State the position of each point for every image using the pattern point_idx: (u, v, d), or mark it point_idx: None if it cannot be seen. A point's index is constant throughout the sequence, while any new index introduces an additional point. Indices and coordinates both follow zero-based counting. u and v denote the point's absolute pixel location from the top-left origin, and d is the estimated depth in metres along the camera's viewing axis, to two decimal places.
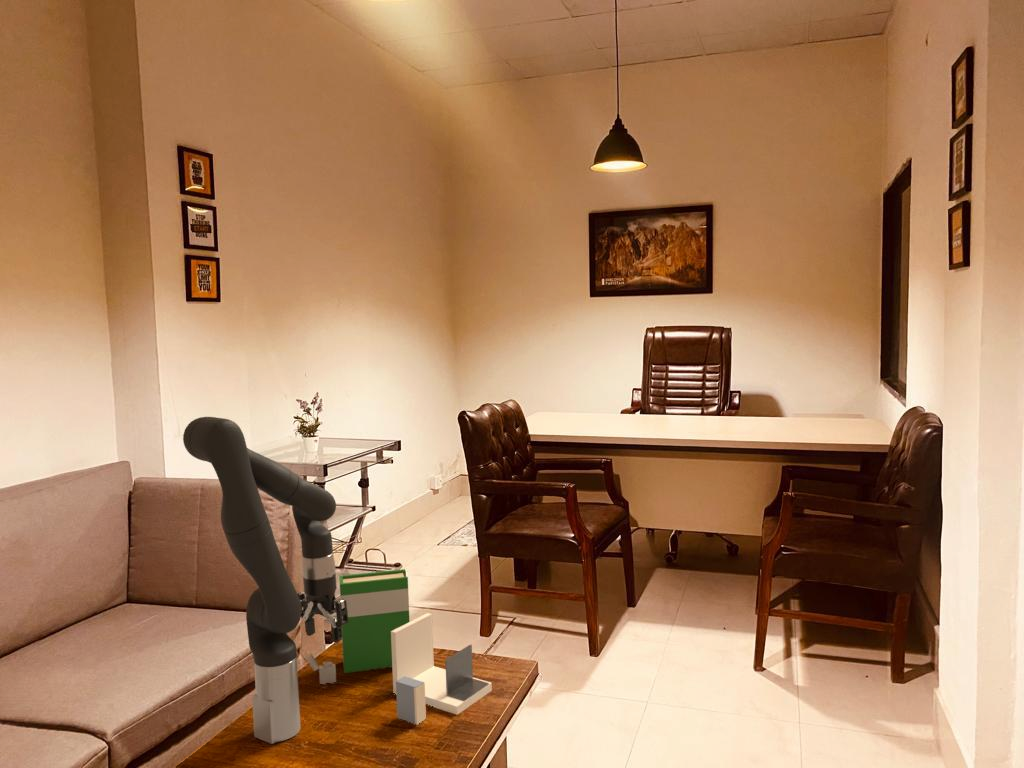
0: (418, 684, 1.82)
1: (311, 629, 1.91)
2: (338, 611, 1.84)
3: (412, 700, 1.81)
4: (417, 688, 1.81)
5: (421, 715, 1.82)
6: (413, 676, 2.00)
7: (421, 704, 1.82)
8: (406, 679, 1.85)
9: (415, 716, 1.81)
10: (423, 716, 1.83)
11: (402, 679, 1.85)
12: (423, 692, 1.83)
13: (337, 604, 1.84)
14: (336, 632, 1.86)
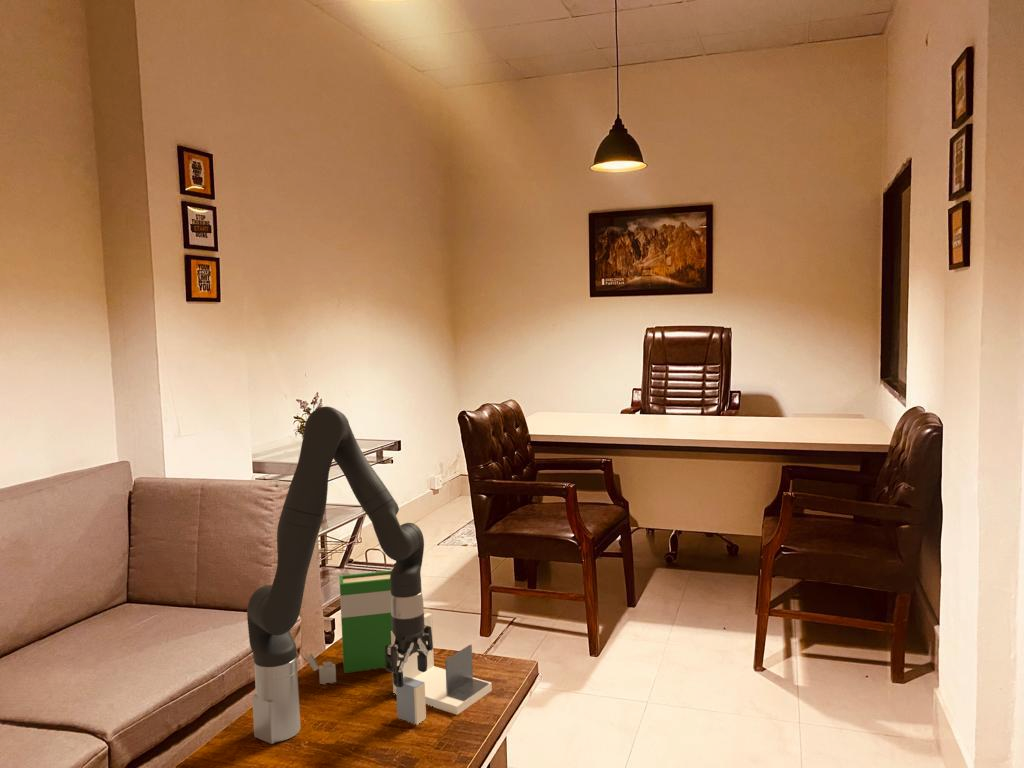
0: (418, 684, 1.82)
1: None
2: (430, 635, 1.88)
3: (412, 699, 1.81)
4: (417, 688, 1.81)
5: (421, 715, 1.82)
6: (413, 676, 2.00)
7: (421, 704, 1.82)
8: (406, 679, 1.85)
9: (415, 716, 1.81)
10: (423, 716, 1.83)
11: None
12: (423, 692, 1.83)
13: (430, 628, 1.88)
14: (425, 660, 1.88)
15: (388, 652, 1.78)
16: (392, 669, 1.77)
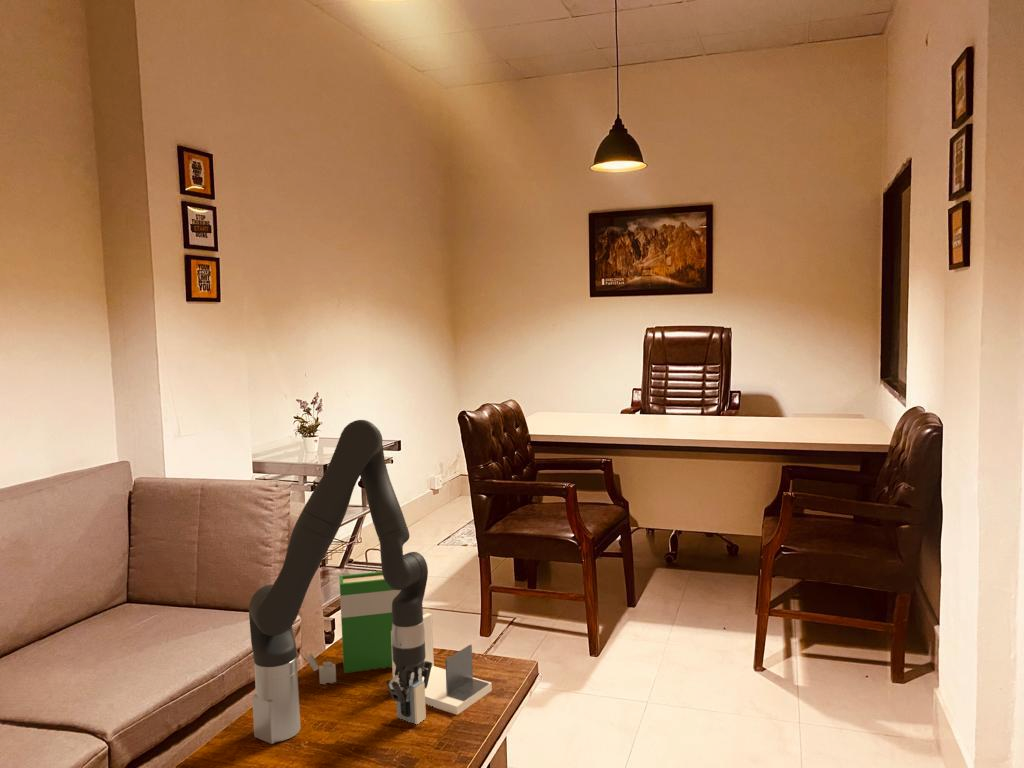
0: (418, 684, 1.82)
1: None
2: (429, 671, 1.87)
3: (411, 699, 1.81)
4: (417, 688, 1.81)
5: (421, 715, 1.82)
6: None
7: (421, 704, 1.82)
8: None
9: (414, 715, 1.81)
10: (423, 716, 1.83)
11: None
12: (423, 692, 1.83)
13: (431, 664, 1.88)
14: None
15: (391, 688, 1.78)
16: (400, 699, 1.79)
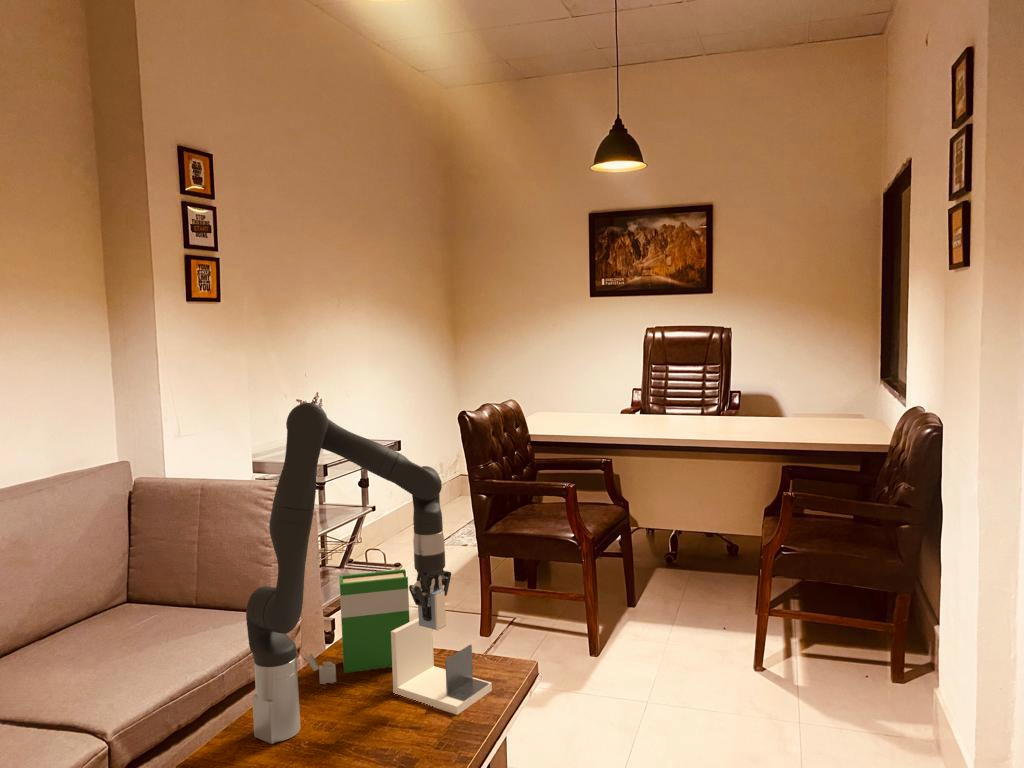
0: (438, 592, 1.93)
1: None
2: (448, 580, 1.98)
3: (432, 606, 1.92)
4: (437, 595, 1.91)
5: (441, 621, 1.93)
6: (413, 676, 2.00)
7: (441, 611, 1.93)
8: None
9: (435, 621, 1.92)
10: (443, 622, 1.94)
11: None
12: (443, 600, 1.93)
13: (450, 574, 1.98)
14: None
15: (413, 592, 1.89)
16: (421, 603, 1.90)
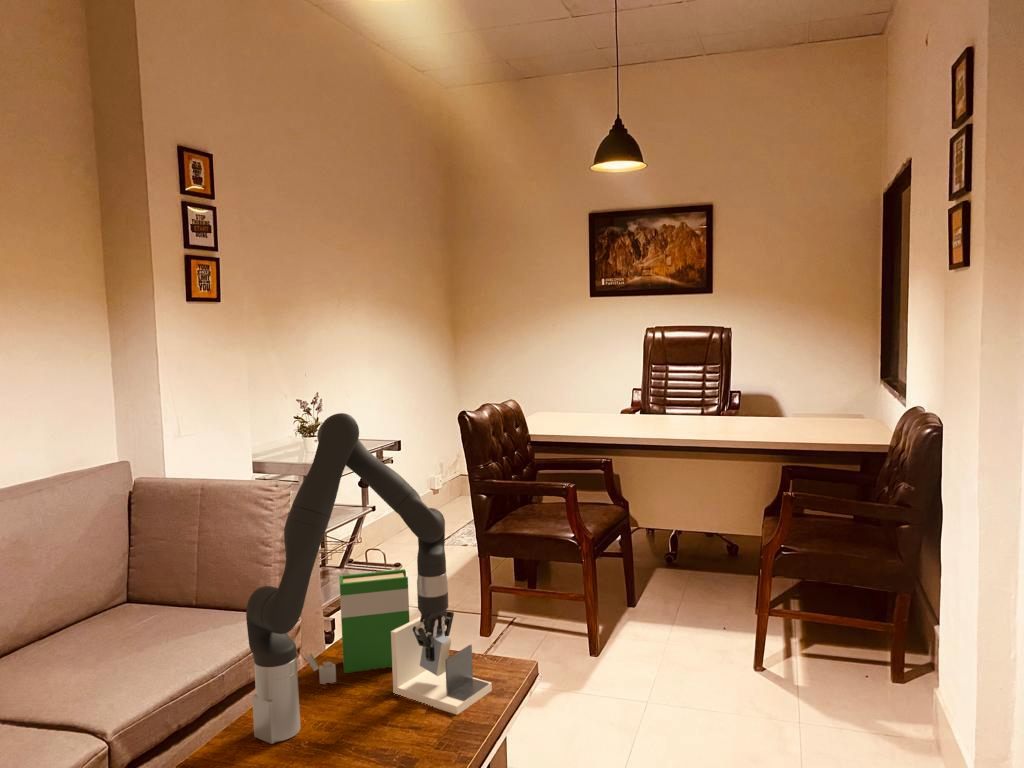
0: (445, 640, 1.95)
1: None
2: (451, 621, 2.00)
3: (437, 653, 1.95)
4: (444, 644, 1.94)
5: (442, 668, 1.96)
6: (413, 676, 2.00)
7: (445, 658, 1.96)
8: None
9: (437, 668, 1.95)
10: (444, 668, 1.97)
11: (430, 632, 1.97)
12: (448, 648, 1.96)
13: (453, 614, 2.01)
14: None
15: (417, 633, 1.92)
16: (425, 644, 1.93)
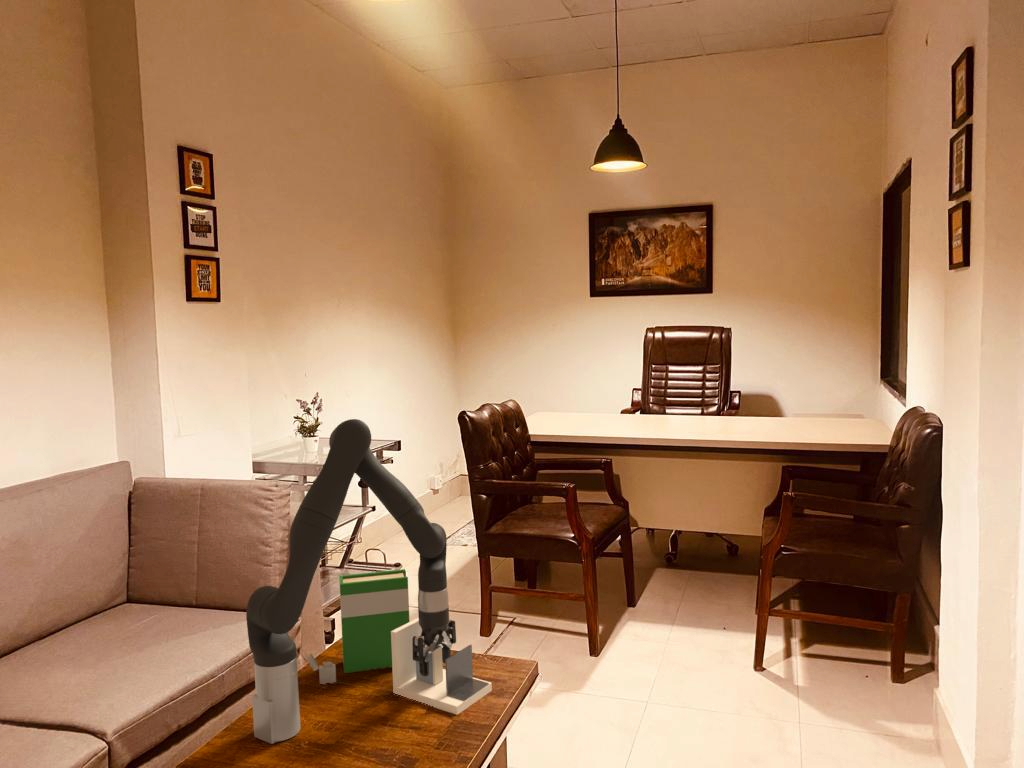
0: (436, 647, 1.97)
1: None
2: (454, 629, 2.01)
3: (430, 662, 1.96)
4: (435, 651, 1.96)
5: (438, 676, 1.97)
6: (413, 676, 2.00)
7: (439, 666, 1.97)
8: None
9: (433, 676, 1.96)
10: (440, 677, 1.98)
11: None
12: (440, 655, 1.98)
13: (454, 622, 2.01)
14: None
15: (415, 643, 1.91)
16: (419, 659, 1.91)
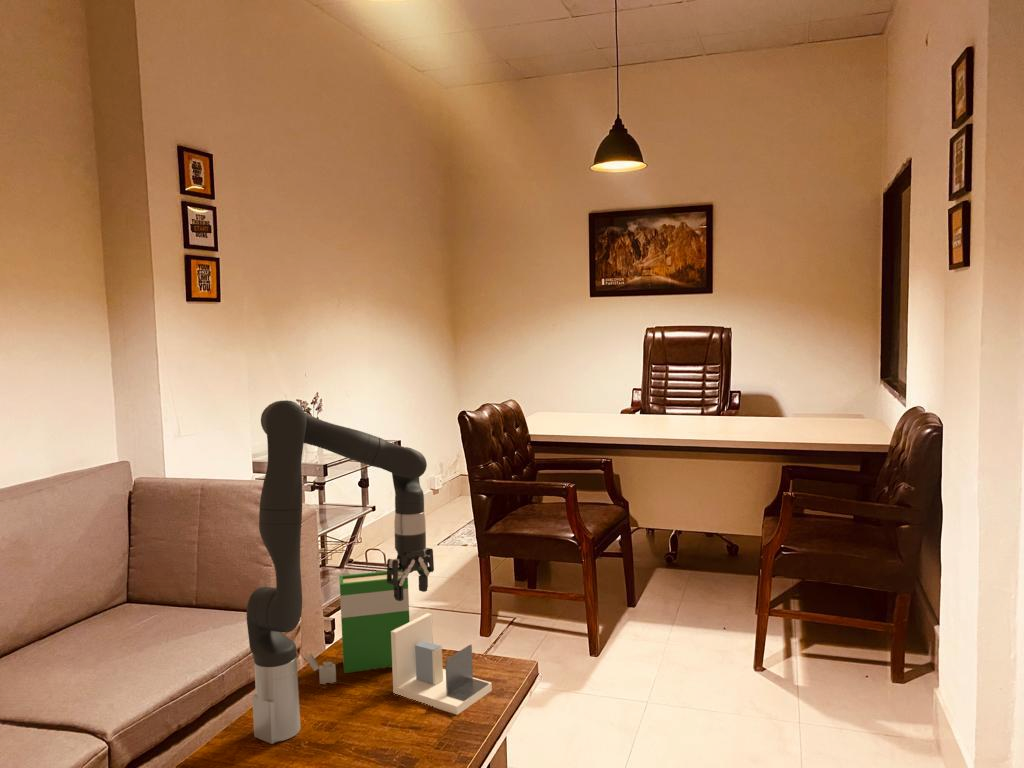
0: (436, 647, 1.97)
1: None
2: (431, 557, 1.98)
3: (430, 662, 1.96)
4: (435, 651, 1.96)
5: (438, 676, 1.97)
6: (413, 676, 2.00)
7: (439, 666, 1.97)
8: (424, 643, 2.00)
9: (433, 676, 1.96)
10: (440, 677, 1.98)
11: (421, 643, 2.00)
12: (440, 655, 1.98)
13: (431, 550, 1.98)
14: None
15: (390, 565, 1.88)
16: (393, 581, 1.87)
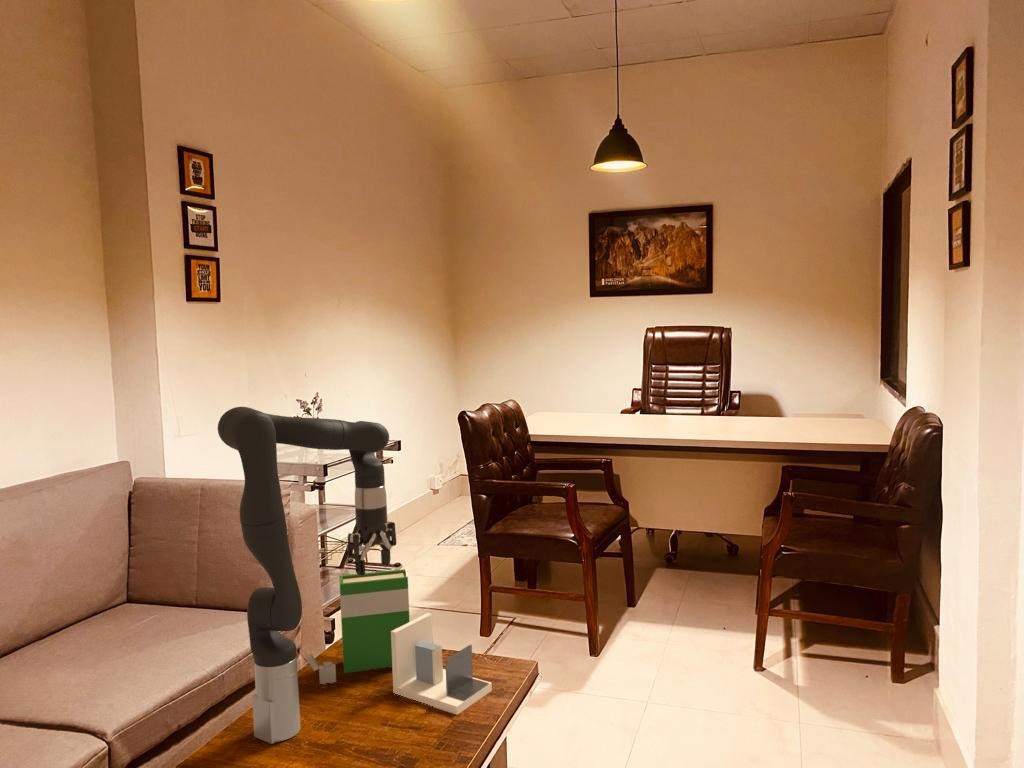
0: (436, 647, 1.97)
1: None
2: (394, 530, 1.96)
3: (430, 662, 1.96)
4: (435, 651, 1.96)
5: (438, 676, 1.97)
6: (413, 676, 2.00)
7: (439, 666, 1.97)
8: (424, 643, 2.00)
9: (433, 676, 1.96)
10: (440, 677, 1.98)
11: (421, 643, 2.00)
12: (440, 655, 1.98)
13: (393, 524, 1.96)
14: None
15: (350, 540, 1.86)
16: (354, 556, 1.86)
